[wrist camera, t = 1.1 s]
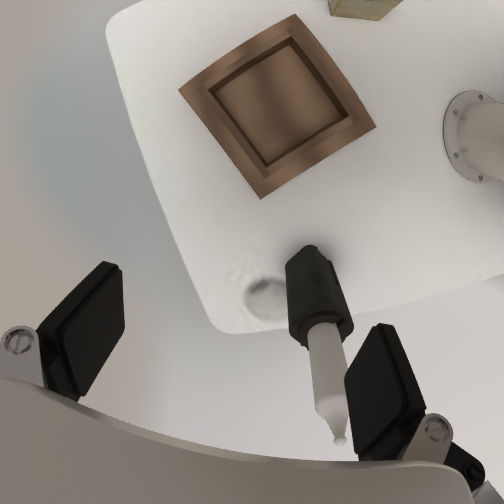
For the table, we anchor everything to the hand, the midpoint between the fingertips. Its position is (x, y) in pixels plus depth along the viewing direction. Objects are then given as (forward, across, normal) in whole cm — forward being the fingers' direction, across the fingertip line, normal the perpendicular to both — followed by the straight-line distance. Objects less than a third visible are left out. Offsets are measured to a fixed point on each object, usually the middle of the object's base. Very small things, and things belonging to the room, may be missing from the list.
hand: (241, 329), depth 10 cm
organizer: (+26, +1, -9) cm, 28 cm away
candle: (+26, -8, +10) cm, 29 cm away
